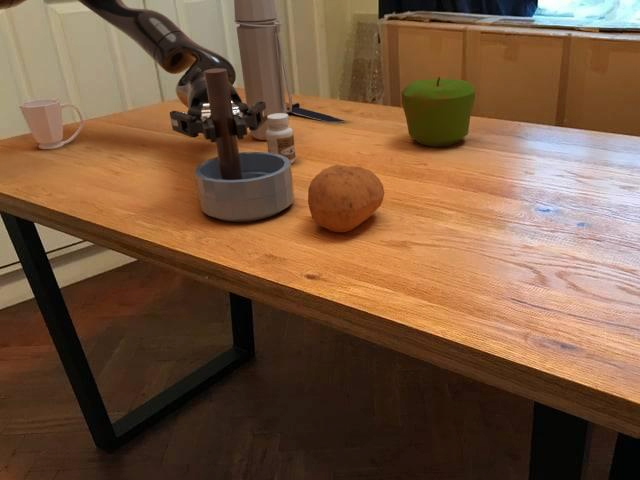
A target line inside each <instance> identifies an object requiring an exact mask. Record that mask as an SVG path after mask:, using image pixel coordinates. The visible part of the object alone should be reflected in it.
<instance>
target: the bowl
mask: <svg viewBox="0 0 640 480" xmlns="http://www.w3.org/2000/svg"><path fill="white" fill-rule="evenodd" d="M239 158H240V165H241V172H242V179H243V180H221V174H220V167H219V161H218V156H216V157H213V158H210V159H207V160H205V161H203V162H201V163H200V164H198V165H197V166H196V167H195V169H194V171H193V173H194V178H195V183H196V189H197V194H198V200H199V201H198V202H199V206H200V209H201V211H202V213H204V214H206V215H207V216H209V217H213V218H215V219H217V220H221V221H225V222H234V223H235V222H237V223H239V222H241V223H243V222H254V221H258V220H259V221H260V220H263V219H267V218H271V217H273V216H276V215H278V214H279V213H281V212H282V211H284V210H285V209H287V208H288V207H290V206H291V205H293V203H294V199H295V192H294V181H293V171H292V164H291V162H290V161H289V159H288V158H287V157H284V156H282V155H279V154H275V153H269V152H268V151H245V152H244V151H243V152H239Z"/></svg>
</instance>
